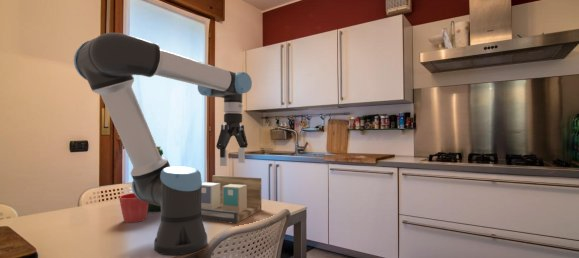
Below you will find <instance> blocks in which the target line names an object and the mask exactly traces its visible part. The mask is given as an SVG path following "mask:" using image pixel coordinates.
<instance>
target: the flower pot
mask: <svg viewBox="0 0 579 258" xmlns="http://www.w3.org/2000/svg"><path fill="white" fill-rule="evenodd" d="M118 200H119V203H120V208H121V209H120V210H121V214H122V218H123V219H122V220H123V222H125V223H138V222H142V221H145V220H146V219H147V215H148V211H147V210H148V205H149V203H146V202H143V201H142V200H140V199H139V198H137V197H136V195H135V194H134V192H133V193H126V194H123V195H120V196H119V198H118Z"/></svg>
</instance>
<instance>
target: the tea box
mask: <svg viewBox="0 0 579 258" xmlns="http://www.w3.org/2000/svg"><path fill="white" fill-rule="evenodd" d="M246 209H247V185H238V184H229V185H225V186H222V210H223V211H232V212H241V211H243V210H246Z"/></svg>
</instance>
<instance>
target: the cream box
mask: <svg viewBox="0 0 579 258" xmlns="http://www.w3.org/2000/svg"><path fill="white" fill-rule="evenodd" d="M217 207H220V183H212V182H205V181H204V182H202V187H201V208H205V209H215V208H217Z"/></svg>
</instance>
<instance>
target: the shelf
mask: <svg viewBox="0 0 579 258" xmlns="http://www.w3.org/2000/svg"><path fill="white" fill-rule="evenodd" d="M211 183H220V207H217V208H215V209H205V208H201V218H202V220H206V221H213V220H214V222H221V223H222V222H223V223H229V222H232V224H238V223H240V222H242V221H244V220H245V219H247V218H249V217H251V216H253V215H255V214H257V213H258V212H260V211H262V178H261V177H252V176H251V177H247V176H233V175H232V176H231V175H214V174H213V175H212V182H211ZM229 184H238V185H247V209H246V210H243V211H241V212H232V211H223V210H222V186H225V185H229ZM254 213H255V214H254ZM252 214H253V215H252ZM243 219H244V220H243ZM241 220H242V221H241ZM239 221H240V222H239ZM237 222H238V223H237Z"/></svg>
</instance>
